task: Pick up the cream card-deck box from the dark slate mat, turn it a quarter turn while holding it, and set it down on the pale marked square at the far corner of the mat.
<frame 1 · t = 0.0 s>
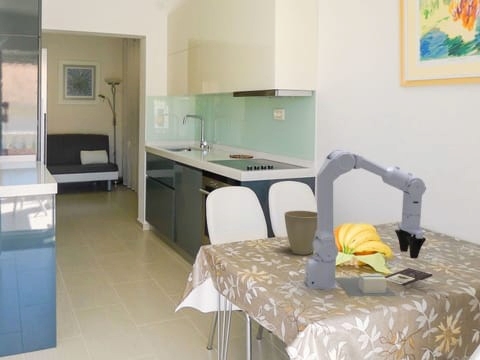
hand: (408, 254, 160), 10 cm above the table, tool pointing down, fingers open, 7 cm apart
plant pot: (301, 252, 198), on the table
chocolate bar: (406, 279, 169), on the table
mat: (363, 287, 158), on the table
card deck box: (371, 290, 154), resting on mat
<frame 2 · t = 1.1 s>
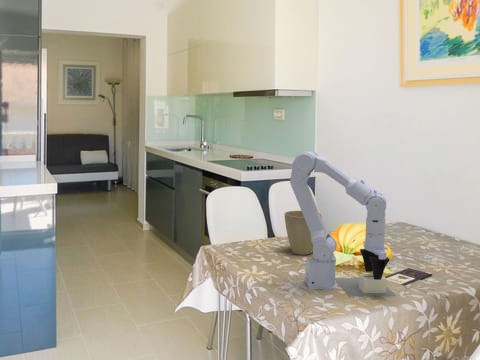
hand: (373, 275, 154), 5 cm above the table, tool pointing down, fingers open, 7 cm apart
nothing on the table moved.
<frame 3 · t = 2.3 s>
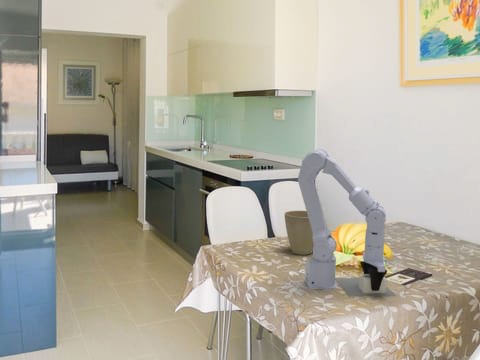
hand: (372, 287, 154), 1 cm above the table, tool pointing down, fingers closed on card deck box, 5 cm apart
card deck box: (371, 290, 154), resting on mat, touching gripper
everything else where it was.
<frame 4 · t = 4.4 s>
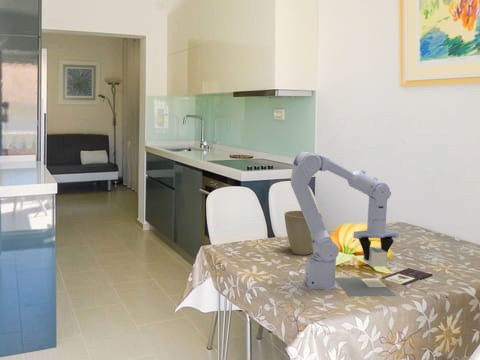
hand: (374, 259, 160), 8 cm above the table, tool pointing down, fingers closed on card deck box, 5 cm apart
card deck box: (374, 263, 160), point 7 cm above the table, touching gripper
everything else where it was.
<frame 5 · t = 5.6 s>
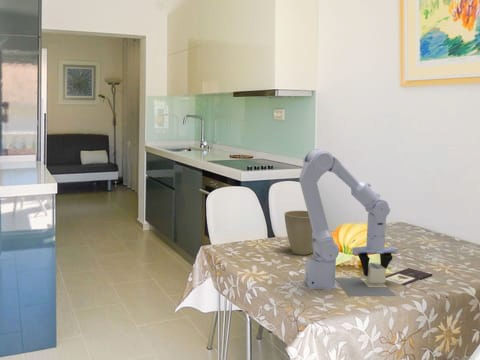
hand: (373, 275, 161), 3 cm above the table, tool pointing down, fingers closed on card deck box, 5 cm apart
card deck box: (373, 279, 161), point 2 cm above the table, touching gripper
everything else where it was.
when the fingers open (3 cm above the table, at t = 6.5 s): card deck box drops 1 cm, resting on mat.
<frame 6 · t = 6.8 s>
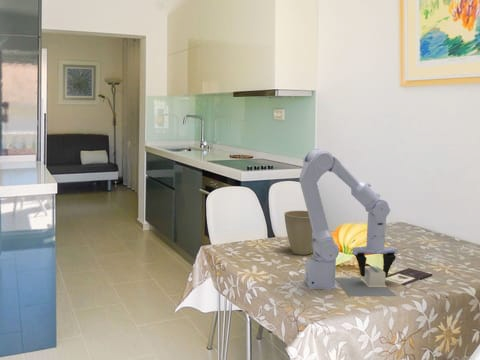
hand: (373, 275, 161), 3 cm above the table, tool pointing down, fingers open, 7 cm apart
card deck box: (373, 282, 161), resting on mat
everything else where it was.
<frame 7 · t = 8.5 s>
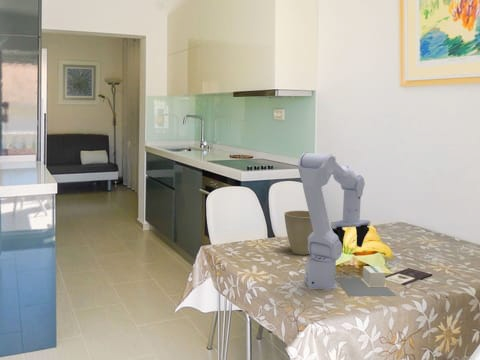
hand: (349, 247, 171), 9 cm above the table, tool pointing down, fingers open, 7 cm apart
nothing on the table moved.
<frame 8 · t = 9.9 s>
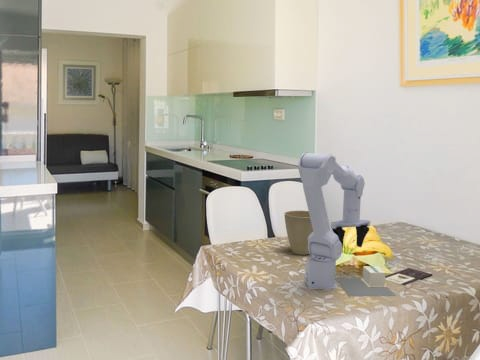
hand: (349, 247, 171), 9 cm above the table, tool pointing down, fingers open, 7 cm apart
nothing on the table moved.
at the end: card deck box 0.1 cm from the target spot on the mat, point 0.4 cm above the mat's base; card deck box tilted 0°; the gripper is holding nothing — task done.
